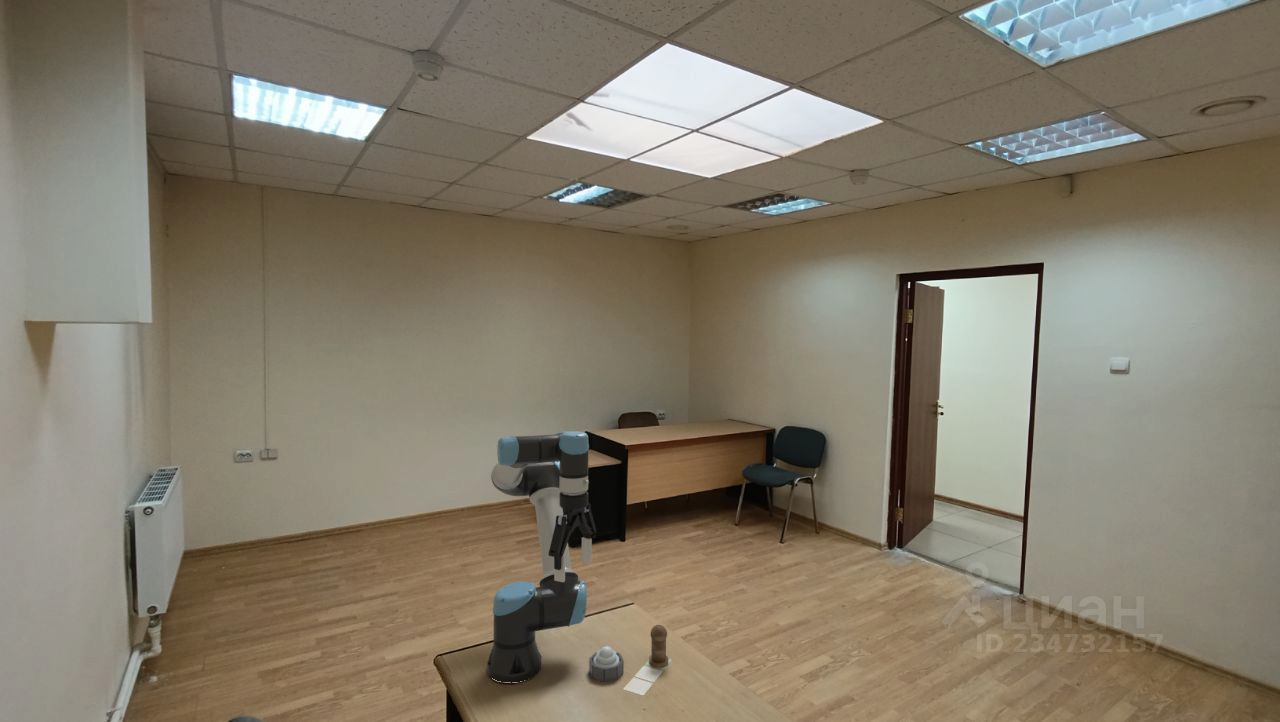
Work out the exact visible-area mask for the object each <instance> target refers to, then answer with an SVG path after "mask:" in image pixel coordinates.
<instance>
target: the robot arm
mask: <svg viewBox="0 0 1280 722" xmlns="http://www.w3.org/2000/svg"><path fill="white" fill-rule="evenodd" d="M496 449H497V453H496V454H497V455H496V456H497V461H498V462H497V463H495V466H494V467H493V468H492V472H491V482H492V484H493V486H494V488H495V489H497V491H499V492H501V493H503V494H505V495H507V496H512V497H527V496H528V497H529V498H528V499H529V502H530V504H532V505H534V506H535V507H534V508H535V516H536V524H537V532H538V539H539V548H540V549H539V550H540V556H541V563H542V572H543V576H542V577H541V578H540V580H539V583H538V584H539V586H537V587H536V585H535V584H534V583H533V582H531V581H524V580H521V581H515V582H511V583H508V584H506V585H504V586H503V587H501V588H499V590H497V591H496V593H495V594H494V597H493V605H492V606H493V607H492V614H493V645H492V647H491V651H490V653H489V657H488V660H487V665H486V666H487V667H486V670H487V672H488V674H489V676H490V677H491V678H493V679H495V680H497V681H501V682H511V683H512V682H520V681H524V680H527V681H529V680H531V679H533V678H534V677H536V676H537V675H538V674H539V673H540V671H541V669H542V656H541V653H540V652H539V649H538V644H537V640H536V632H540V631H544V630H552V629H557V628H559V629H560V628H565V627H567V628H568V627H570V626H574V625H579V624H581V623H582V622H583V621H584V620H585V618H586V617H585V616H586V613H587V607H588V606H587V604H588V600H587V599H588V592H587V585H586V582H585V581H584V580H579V575H578V573H577V572H575V571H574V570H573V568H572V567H573V566H572V562H571V555H570V547H569V540H570V537H571V534H572V533H573V532H574V530H575V529H576V528H577V527H578V529H579V531H580V533H581V534H582V536H583V537H581V562H583V563H589V564H591V563H592V562H593V561H592V558H593V557H592V553H593V551H592V543H593V542H592V541H593V540H592V539H595V538H596V535H597V534H596V533H597V528H596V524H595V521H594V516H593V513H592V507H591V506H592V505H591V503H589V492H588V490H589V484H590V481H589V454H590V453H589V449H590V444H589V435H588V433H586V432H583V431H577V430H576V431H573V430H572V431H571V430H570V431H559V432H555V433H554V434H541V435H540V434H539V435H522V436H521V435H520V436H519V435H518V436H513V435H511V436H506V437H505V436H504V437H500V438H499V439H498V440H497V447H496ZM487 672H486V673H487ZM488 674H487V675H488ZM535 675H536V676H535ZM489 676H488V677H489ZM532 677H533V678H532ZM530 678H531V679H530ZM528 679H529V680H528ZM524 682H525V681H524Z"/></svg>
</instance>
